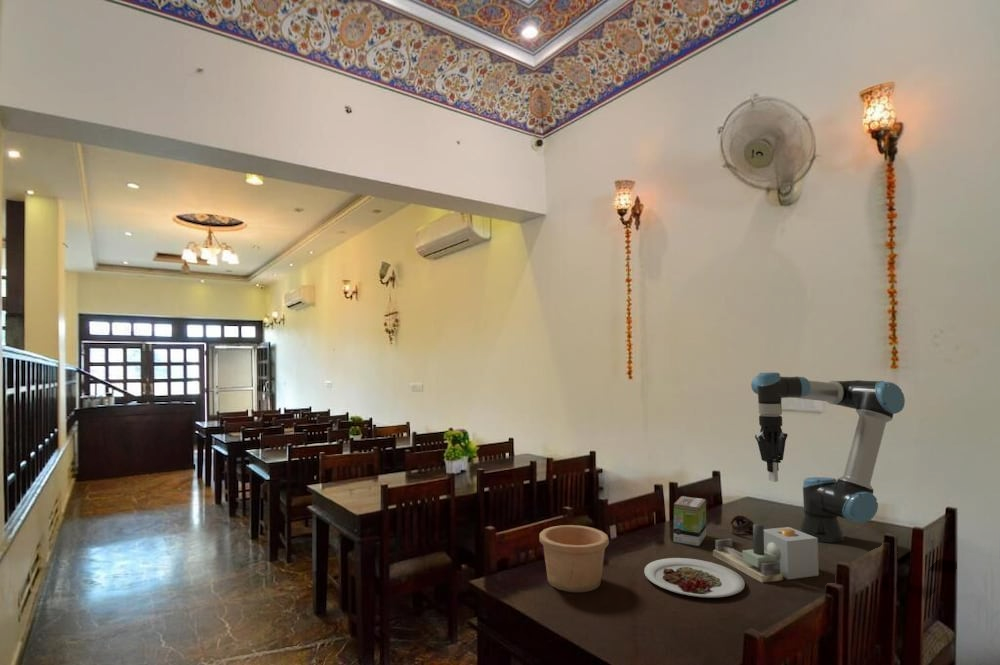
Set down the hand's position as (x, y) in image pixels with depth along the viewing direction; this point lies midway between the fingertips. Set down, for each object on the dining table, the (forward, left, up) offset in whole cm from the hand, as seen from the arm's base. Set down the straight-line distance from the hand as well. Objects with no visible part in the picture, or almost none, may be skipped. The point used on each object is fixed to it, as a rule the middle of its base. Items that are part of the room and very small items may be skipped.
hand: (773, 480), depth 193 cm
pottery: (+79, +2, -27) cm, 83 cm away
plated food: (+42, +11, -27) cm, 51 cm away
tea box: (+19, -24, -27) cm, 40 cm away
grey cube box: (+6, +12, -27) cm, 30 cm away
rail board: (+18, +6, -27) cm, 32 cm away
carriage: (+18, +13, -23) cm, 31 cm away
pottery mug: (-6, -24, -27) cm, 37 cm away
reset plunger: (+6, +12, -22) cm, 26 cm away
